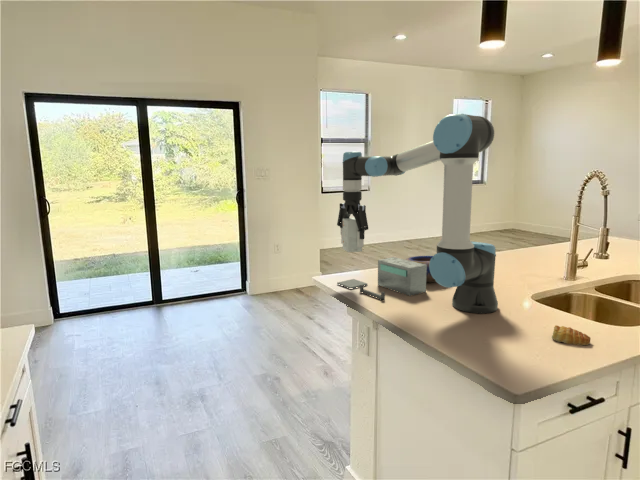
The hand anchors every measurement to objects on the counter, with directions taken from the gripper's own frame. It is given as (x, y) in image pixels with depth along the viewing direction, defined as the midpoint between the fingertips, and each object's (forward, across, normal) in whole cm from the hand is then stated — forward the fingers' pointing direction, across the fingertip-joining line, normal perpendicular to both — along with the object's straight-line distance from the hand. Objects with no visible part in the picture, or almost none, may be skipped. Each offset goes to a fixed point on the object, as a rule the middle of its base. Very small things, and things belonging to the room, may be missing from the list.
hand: (352, 245), depth 174 cm
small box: (+2, 0, 0) cm, 2 cm away
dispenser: (+17, -16, -6) cm, 24 cm away
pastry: (+18, -80, -13) cm, 83 cm away
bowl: (+17, -13, -31) cm, 38 cm away
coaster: (+17, 0, 0) cm, 17 cm away
